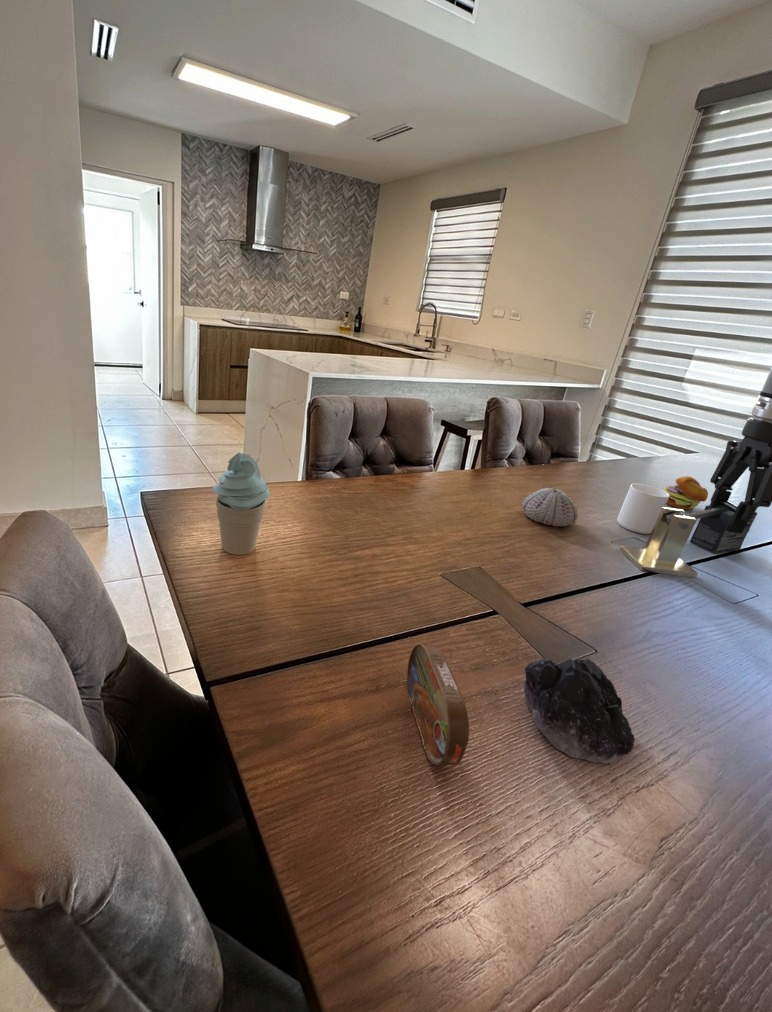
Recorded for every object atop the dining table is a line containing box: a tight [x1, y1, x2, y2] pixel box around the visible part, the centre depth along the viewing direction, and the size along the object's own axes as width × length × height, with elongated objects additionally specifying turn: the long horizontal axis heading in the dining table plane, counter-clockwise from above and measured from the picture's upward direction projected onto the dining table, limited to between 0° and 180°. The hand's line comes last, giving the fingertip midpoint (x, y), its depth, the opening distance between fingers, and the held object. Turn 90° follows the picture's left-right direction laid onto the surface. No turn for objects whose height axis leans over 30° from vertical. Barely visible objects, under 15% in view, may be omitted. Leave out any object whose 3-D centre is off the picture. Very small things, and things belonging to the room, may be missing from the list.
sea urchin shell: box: [521, 487, 579, 527], centre depth 121 cm, size 13×14×8 cm
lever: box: [666, 499, 738, 526], centre depth 101 cm, size 13×6×2 cm, turn 85°
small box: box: [689, 503, 758, 555], centre depth 117 cm, size 11×6×10 cm, turn 111°
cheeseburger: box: [661, 475, 709, 510], centre depth 143 cm, size 10×11×10 cm
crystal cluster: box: [523, 657, 635, 764], centre depth 60 cm, size 13×14×10 cm
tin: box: [406, 644, 470, 766], centre depth 57 cm, size 15×3×8 cm, turn 4°
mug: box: [617, 483, 669, 535], centre depth 124 cm, size 9×12×11 cm
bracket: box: [619, 506, 699, 579], centre depth 104 cm, size 12×9×13 cm
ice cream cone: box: [212, 451, 271, 556], centre depth 89 cm, size 10×11×20 cm
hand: (722, 524), depth 102 cm, fingers closed on lever, 6 cm apart
